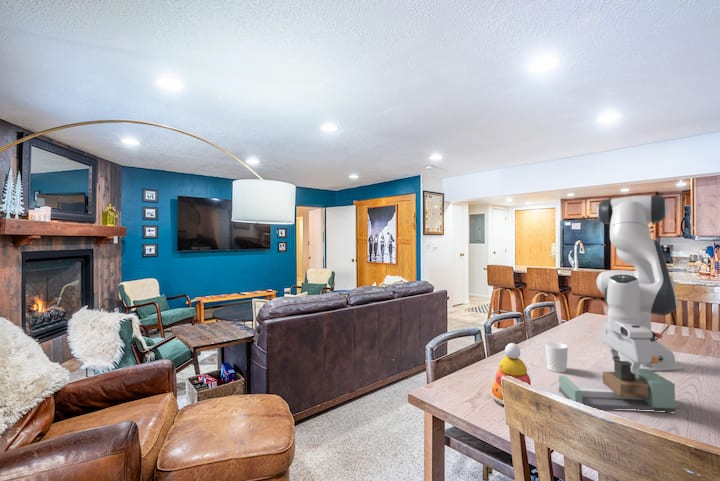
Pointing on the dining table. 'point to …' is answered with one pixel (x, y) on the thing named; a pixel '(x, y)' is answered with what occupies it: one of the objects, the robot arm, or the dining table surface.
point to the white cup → (556, 356)
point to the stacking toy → (509, 371)
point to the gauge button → (653, 361)
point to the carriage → (625, 381)
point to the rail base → (608, 399)
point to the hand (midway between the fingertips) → (624, 366)
